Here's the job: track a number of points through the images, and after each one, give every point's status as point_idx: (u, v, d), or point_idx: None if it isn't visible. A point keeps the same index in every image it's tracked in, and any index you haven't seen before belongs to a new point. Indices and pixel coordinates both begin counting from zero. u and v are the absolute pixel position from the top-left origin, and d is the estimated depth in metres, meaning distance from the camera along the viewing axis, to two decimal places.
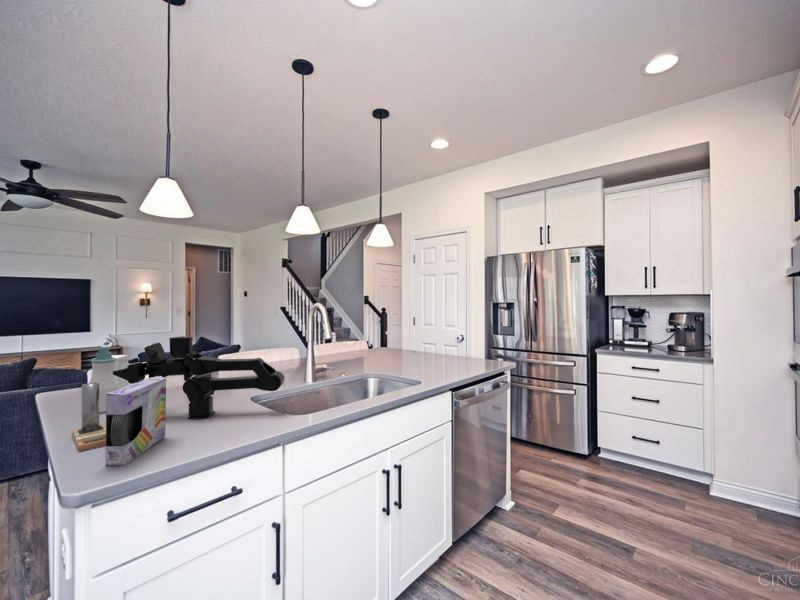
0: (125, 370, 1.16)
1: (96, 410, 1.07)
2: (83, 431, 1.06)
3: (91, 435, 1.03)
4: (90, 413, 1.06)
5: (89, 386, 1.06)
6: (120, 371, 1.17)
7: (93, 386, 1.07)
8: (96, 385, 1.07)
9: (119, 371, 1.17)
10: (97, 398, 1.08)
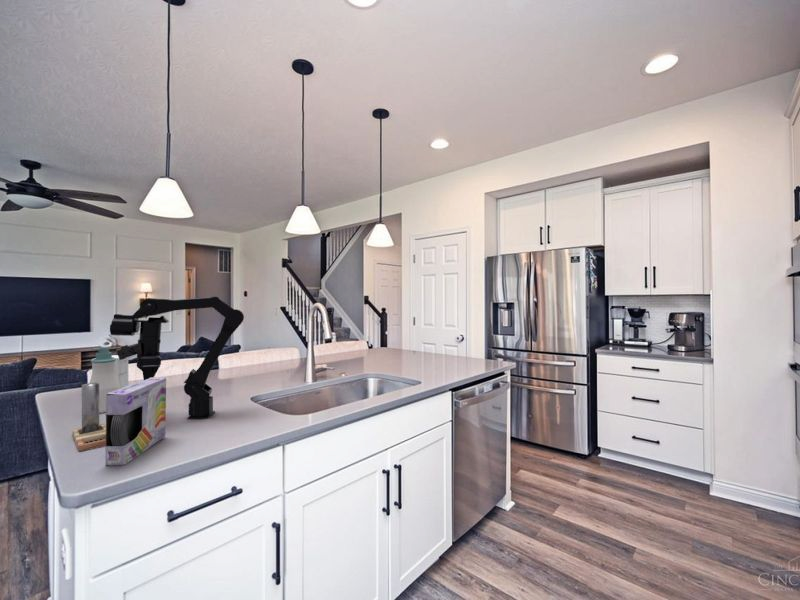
0: (144, 372, 1.13)
1: (96, 410, 1.07)
2: (83, 431, 1.06)
3: (91, 435, 1.03)
4: (90, 413, 1.06)
5: (89, 386, 1.06)
6: (145, 378, 1.14)
7: (93, 386, 1.07)
8: (96, 385, 1.07)
9: (145, 379, 1.14)
10: (97, 398, 1.08)
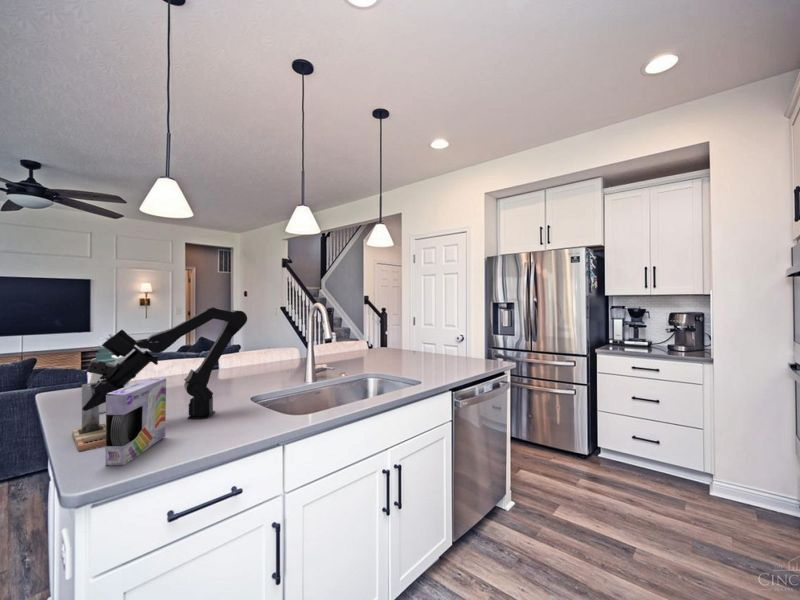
0: (95, 396, 1.05)
1: (96, 410, 1.07)
2: (83, 431, 1.06)
3: (91, 435, 1.03)
4: (90, 413, 1.06)
5: (89, 386, 1.06)
6: (90, 401, 1.05)
7: (93, 386, 1.07)
8: None
9: (89, 402, 1.05)
10: None
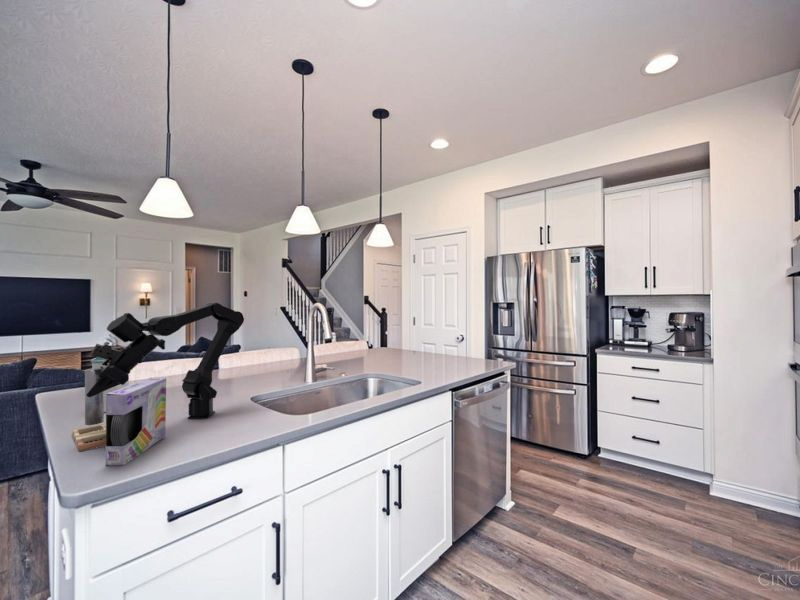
0: (100, 381, 1.00)
1: (100, 396, 1.01)
2: (87, 419, 1.00)
3: (91, 435, 1.03)
4: (94, 400, 1.00)
5: (93, 371, 1.00)
6: (95, 387, 0.99)
7: (97, 371, 1.01)
8: None
9: (94, 388, 0.99)
10: None
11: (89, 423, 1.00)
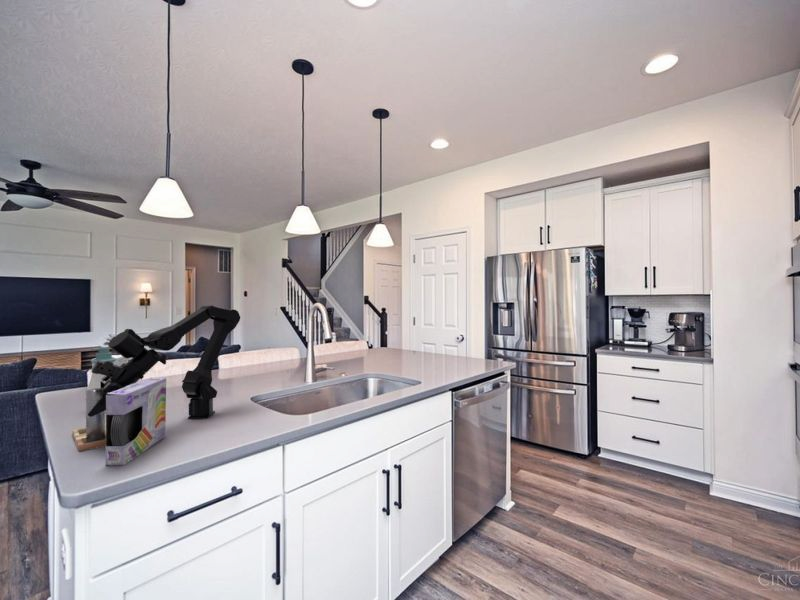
0: (102, 400, 0.97)
1: (102, 417, 1.01)
2: (88, 440, 0.99)
3: None
4: (96, 421, 0.99)
5: (95, 392, 0.99)
6: (97, 406, 0.97)
7: (99, 391, 1.00)
8: None
9: (96, 407, 0.97)
10: None
11: None
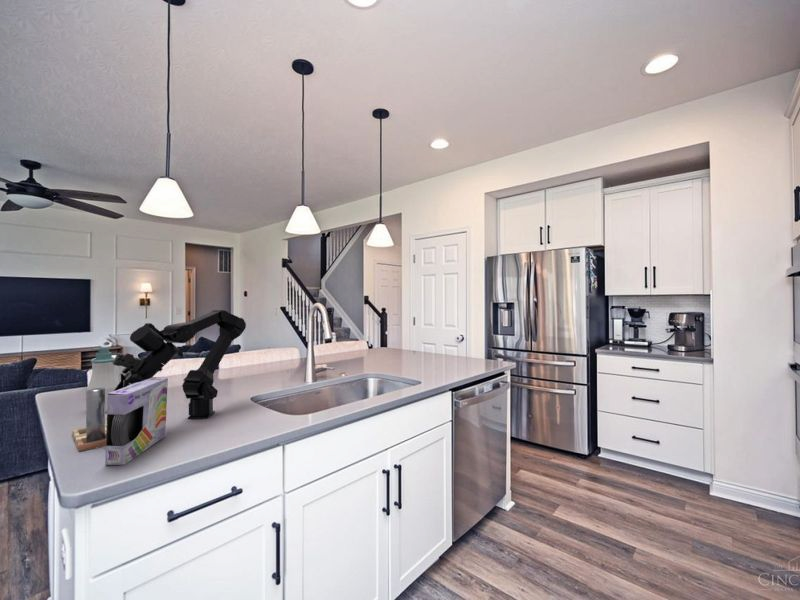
0: None
1: (102, 417, 1.01)
2: (88, 440, 0.99)
3: None
4: (96, 421, 0.99)
5: (95, 391, 0.99)
6: None
7: (99, 391, 1.00)
8: (102, 390, 1.01)
9: None
10: (103, 404, 1.01)
11: None
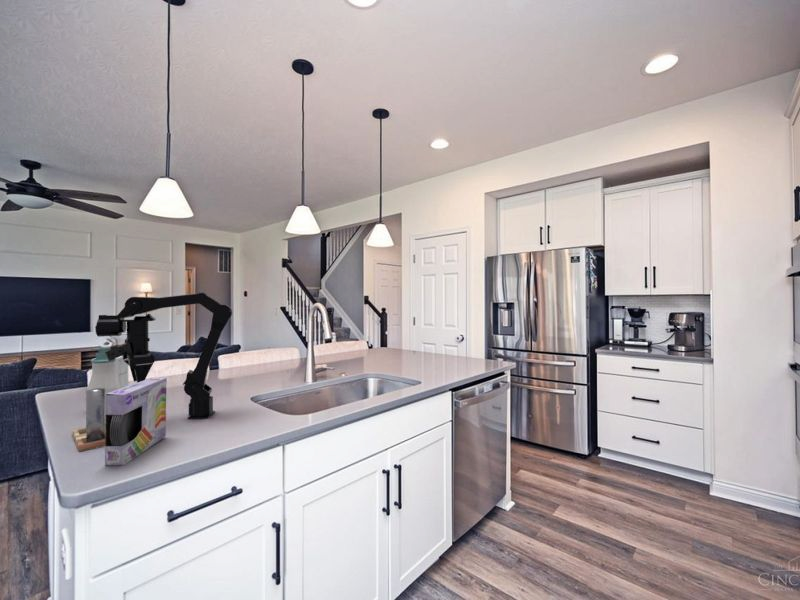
0: (137, 371, 1.13)
1: (102, 417, 1.01)
2: (88, 440, 0.99)
3: None
4: (96, 421, 0.99)
5: (95, 392, 0.99)
6: (138, 377, 1.13)
7: (99, 391, 1.00)
8: (102, 390, 1.01)
9: (138, 378, 1.13)
10: (103, 404, 1.01)
11: None
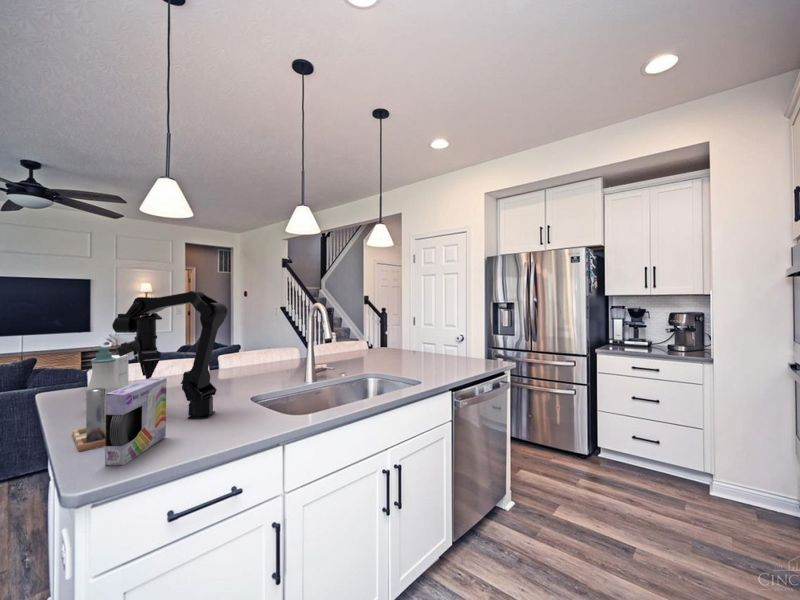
0: (145, 366, 1.21)
1: (102, 417, 1.01)
2: (88, 440, 0.99)
3: None
4: (96, 421, 0.99)
5: (95, 392, 0.99)
6: (146, 371, 1.22)
7: (99, 391, 1.00)
8: (102, 390, 1.01)
9: (146, 372, 1.22)
10: (103, 404, 1.01)
11: None
